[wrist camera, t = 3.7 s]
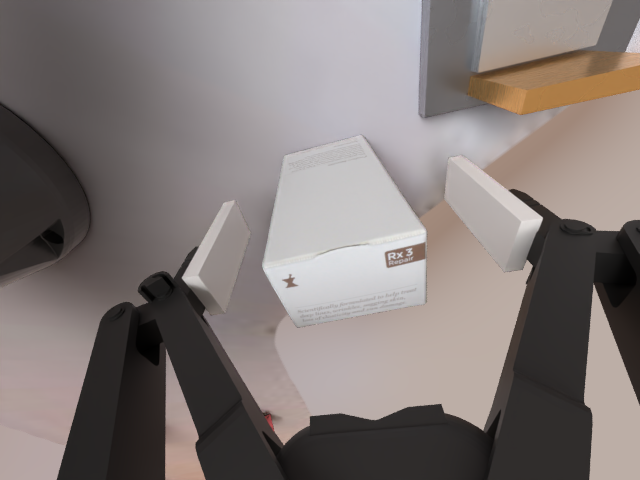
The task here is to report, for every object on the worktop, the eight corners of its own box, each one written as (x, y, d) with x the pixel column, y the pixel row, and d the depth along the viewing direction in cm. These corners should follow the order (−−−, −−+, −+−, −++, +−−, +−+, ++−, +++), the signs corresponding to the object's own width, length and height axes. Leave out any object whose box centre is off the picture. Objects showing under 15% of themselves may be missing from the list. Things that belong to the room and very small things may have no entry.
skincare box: (299, 202, 21) (292, 337, 12) (281, 150, 18) (251, 270, 9) (373, 184, 20) (429, 313, 11) (366, 127, 18) (431, 232, 8)
